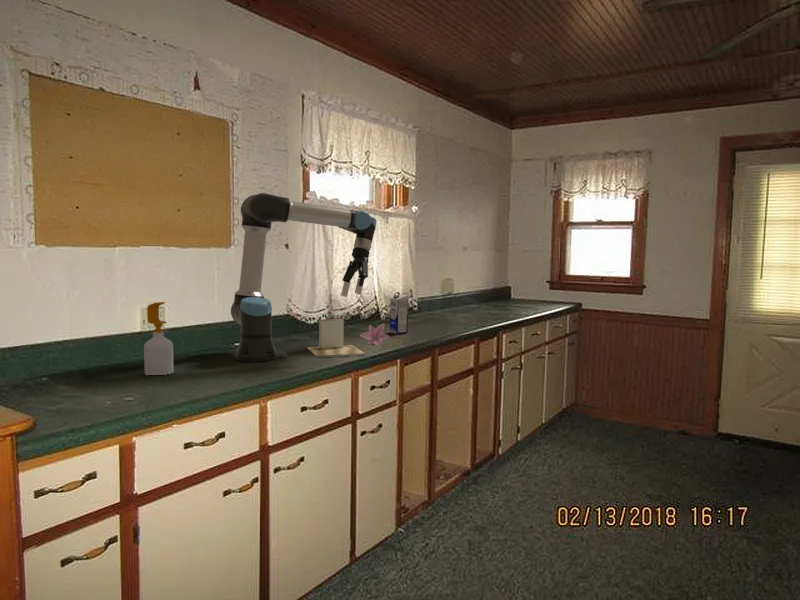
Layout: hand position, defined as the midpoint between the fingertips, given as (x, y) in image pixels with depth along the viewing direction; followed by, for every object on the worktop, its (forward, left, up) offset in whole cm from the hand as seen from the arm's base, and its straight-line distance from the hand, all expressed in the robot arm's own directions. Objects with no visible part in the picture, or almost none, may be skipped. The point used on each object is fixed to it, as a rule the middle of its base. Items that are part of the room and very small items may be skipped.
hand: (350, 295), depth 245 cm
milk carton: (+34, +33, -23) cm, 53 cm away
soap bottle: (-76, -32, -23) cm, 86 cm away
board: (-10, -11, -23) cm, 27 cm away
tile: (-10, -5, -22) cm, 24 cm away
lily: (+11, 0, -23) cm, 26 cm away
